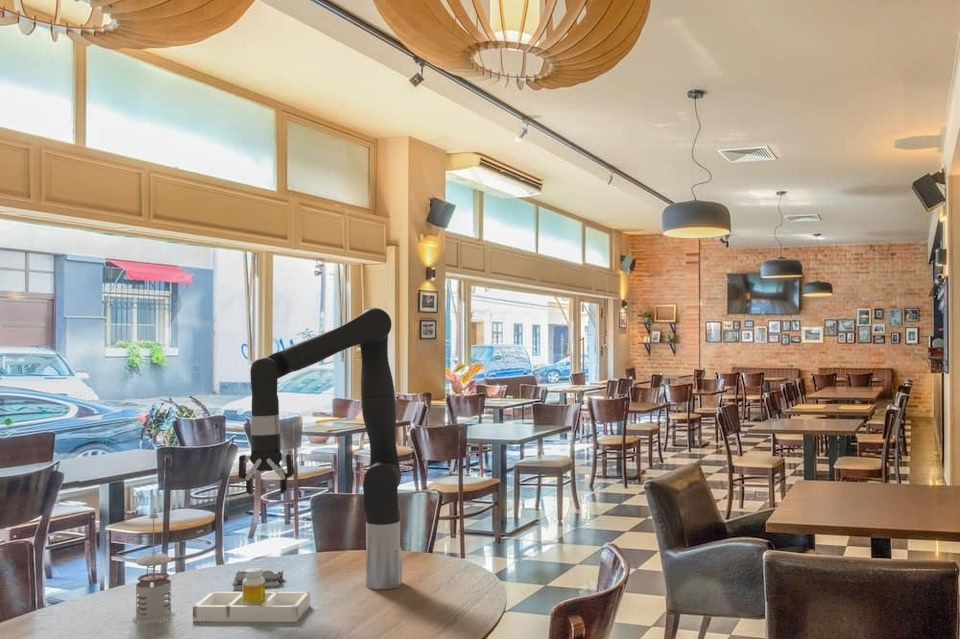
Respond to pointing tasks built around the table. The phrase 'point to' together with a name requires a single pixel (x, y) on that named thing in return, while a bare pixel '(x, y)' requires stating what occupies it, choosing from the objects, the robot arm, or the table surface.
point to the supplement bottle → (253, 587)
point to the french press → (153, 589)
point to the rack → (251, 607)
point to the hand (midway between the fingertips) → (266, 493)
